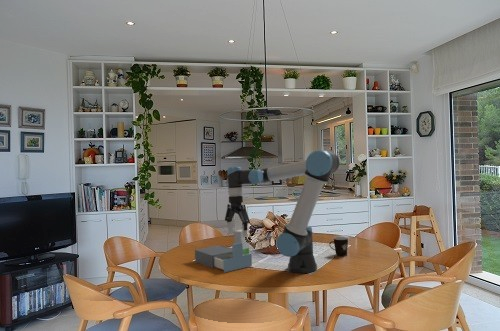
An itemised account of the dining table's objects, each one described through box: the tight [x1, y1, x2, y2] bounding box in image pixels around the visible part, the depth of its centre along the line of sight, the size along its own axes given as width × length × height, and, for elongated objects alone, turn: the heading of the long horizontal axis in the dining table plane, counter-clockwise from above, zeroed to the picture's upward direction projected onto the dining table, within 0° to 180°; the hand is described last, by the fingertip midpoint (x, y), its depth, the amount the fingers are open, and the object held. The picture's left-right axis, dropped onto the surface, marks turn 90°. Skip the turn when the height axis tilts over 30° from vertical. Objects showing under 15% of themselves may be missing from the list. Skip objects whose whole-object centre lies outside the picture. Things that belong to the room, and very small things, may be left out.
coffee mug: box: [328, 236, 349, 257], centre depth 212 cm, size 12×9×10 cm
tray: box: [213, 243, 253, 273], centre depth 197 cm, size 20×18×14 cm
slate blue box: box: [194, 244, 232, 269], centre depth 206 cm, size 20×18×7 cm
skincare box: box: [233, 229, 251, 255], centre depth 221 cm, size 8×7×16 cm
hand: (237, 235), depth 189 cm, fingers open, 13 cm apart
